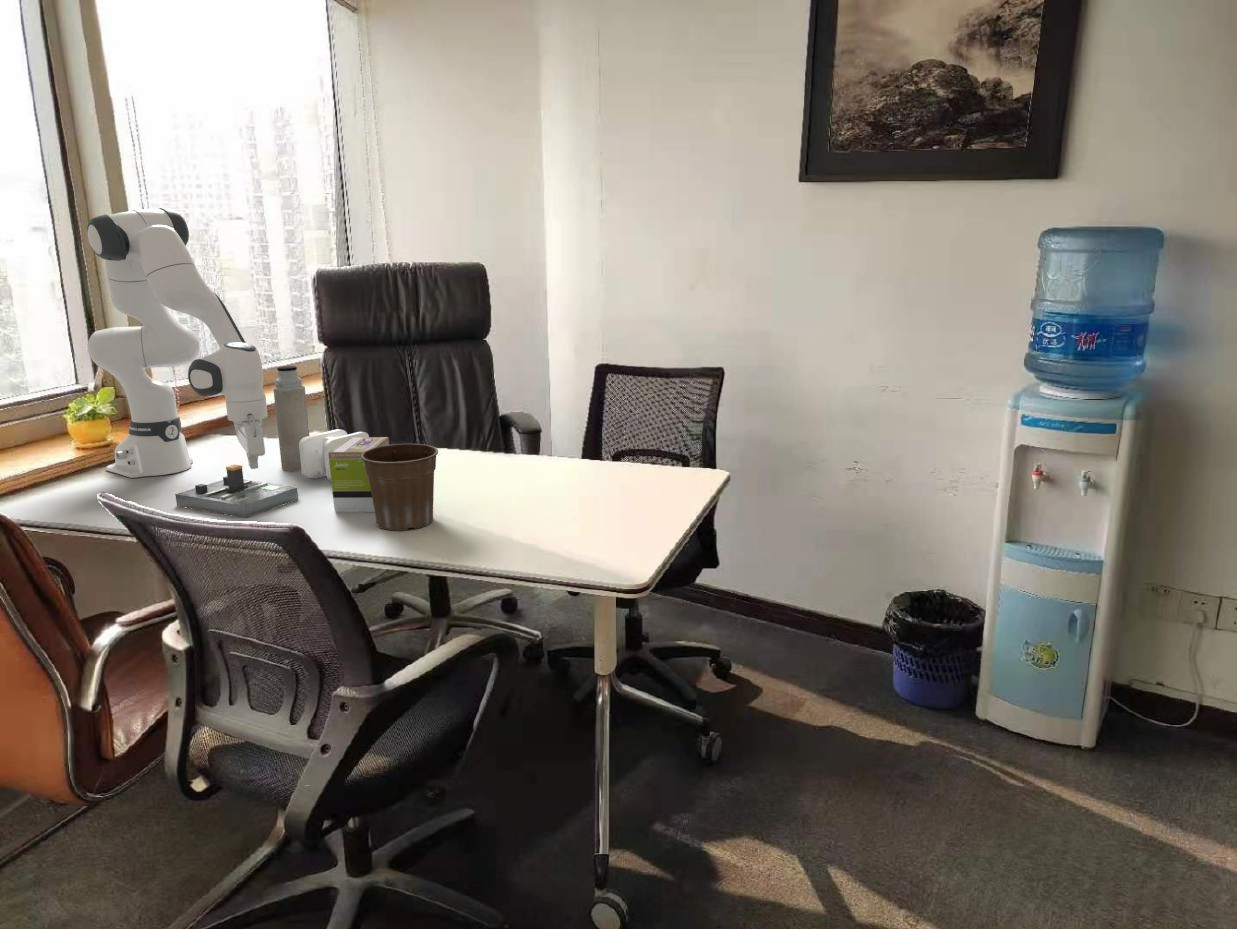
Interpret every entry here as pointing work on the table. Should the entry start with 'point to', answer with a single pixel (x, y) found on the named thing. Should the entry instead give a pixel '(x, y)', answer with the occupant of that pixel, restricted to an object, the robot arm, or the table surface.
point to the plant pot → (401, 484)
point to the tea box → (352, 474)
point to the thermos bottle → (290, 416)
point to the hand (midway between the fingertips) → (253, 467)
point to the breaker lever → (235, 478)
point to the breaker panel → (236, 498)
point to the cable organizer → (321, 451)
